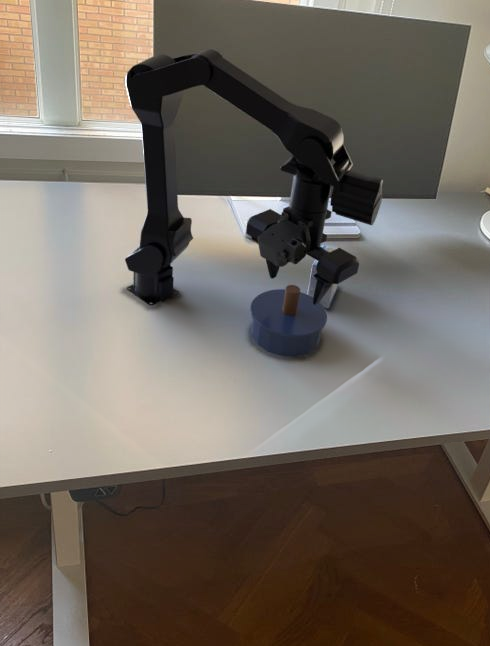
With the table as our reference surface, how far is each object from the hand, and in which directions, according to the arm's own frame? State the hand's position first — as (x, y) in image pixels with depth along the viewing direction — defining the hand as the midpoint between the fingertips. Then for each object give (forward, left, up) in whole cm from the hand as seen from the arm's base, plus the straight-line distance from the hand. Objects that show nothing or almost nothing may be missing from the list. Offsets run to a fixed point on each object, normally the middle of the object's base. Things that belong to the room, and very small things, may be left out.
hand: (294, 290), depth 117 cm
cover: (0, 0, -5) cm, 5 cm away
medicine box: (-4, +15, -10) cm, 18 cm away
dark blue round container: (0, 0, -10) cm, 10 cm away
